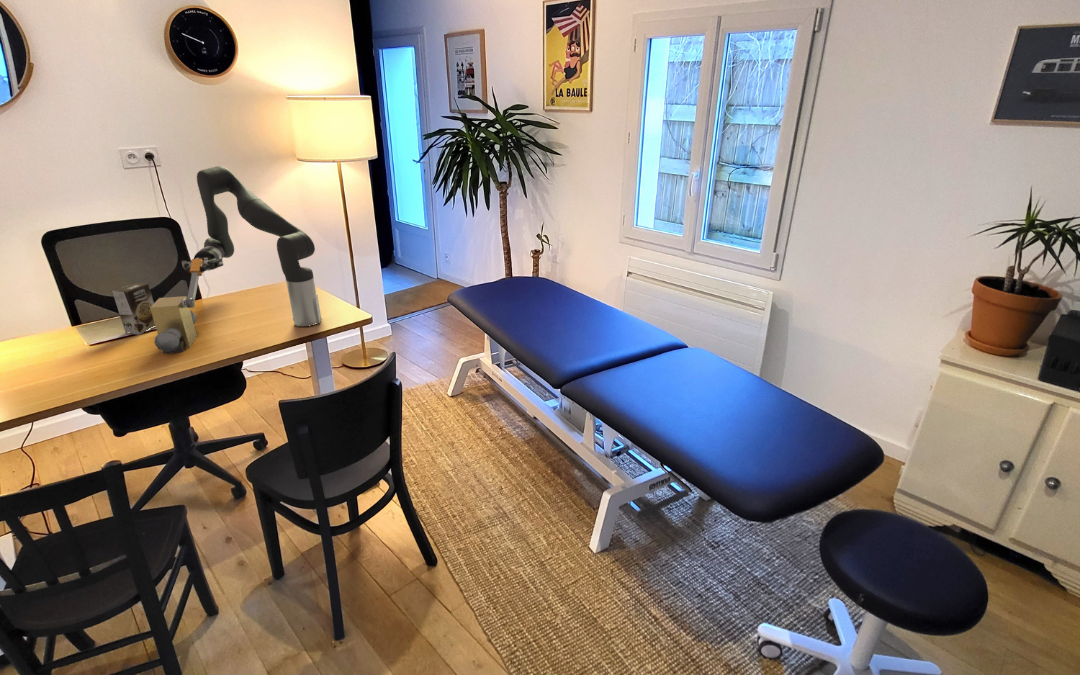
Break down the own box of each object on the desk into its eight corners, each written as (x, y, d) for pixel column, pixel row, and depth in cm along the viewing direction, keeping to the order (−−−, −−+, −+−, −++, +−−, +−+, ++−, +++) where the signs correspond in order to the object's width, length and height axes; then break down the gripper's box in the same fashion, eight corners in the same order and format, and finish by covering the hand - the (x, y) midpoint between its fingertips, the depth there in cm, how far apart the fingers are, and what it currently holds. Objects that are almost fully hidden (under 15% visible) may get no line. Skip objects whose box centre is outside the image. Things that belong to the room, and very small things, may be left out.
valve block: (204, 329, 199) (193, 288, 192) (187, 354, 180) (174, 310, 174) (176, 331, 197) (164, 290, 190) (156, 357, 178) (142, 313, 172)
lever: (196, 309, 185) (204, 264, 198) (193, 302, 182) (201, 257, 195) (186, 310, 184) (194, 265, 197) (182, 303, 182) (191, 258, 194)
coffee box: (140, 335, 194) (126, 291, 187) (124, 333, 195) (110, 290, 188) (161, 325, 202) (148, 283, 195) (146, 323, 203) (133, 281, 196)
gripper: (184, 249, 204) (169, 260, 189) (226, 247, 208) (215, 258, 193) (189, 268, 207) (175, 281, 192) (231, 266, 211) (220, 279, 196)
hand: (195, 270), depth 193 cm, fingers closed on lever, 3 cm apart
